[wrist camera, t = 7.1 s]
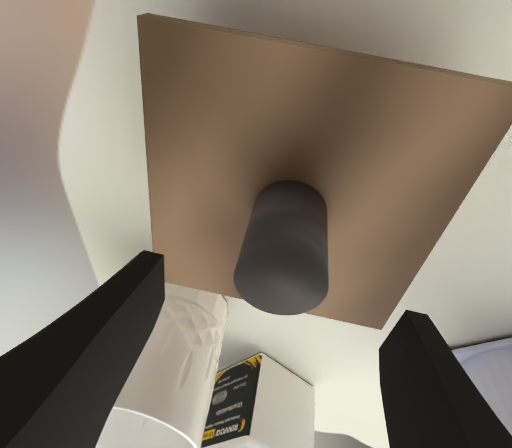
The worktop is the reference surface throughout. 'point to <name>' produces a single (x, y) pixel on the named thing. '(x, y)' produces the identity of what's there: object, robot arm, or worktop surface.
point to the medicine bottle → (260, 407)
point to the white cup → (171, 376)
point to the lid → (305, 165)
